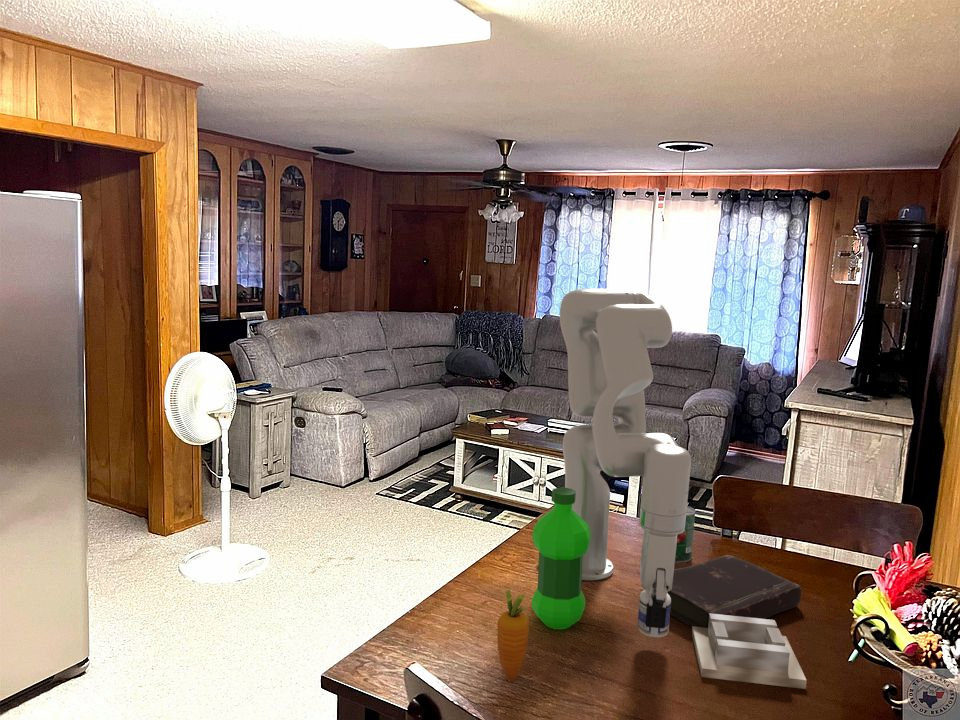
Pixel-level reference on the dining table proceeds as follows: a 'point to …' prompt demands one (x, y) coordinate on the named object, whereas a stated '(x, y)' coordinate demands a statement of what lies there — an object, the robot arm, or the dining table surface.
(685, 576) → the diary
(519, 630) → the carrot
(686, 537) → the canned tomato
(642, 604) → the pill bottle
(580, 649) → the dining table surface
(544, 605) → the plastic bottle
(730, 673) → the socket board
